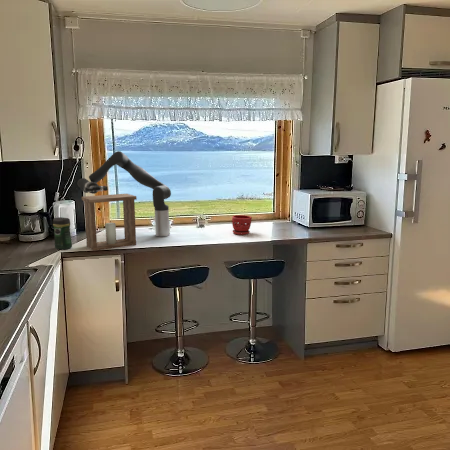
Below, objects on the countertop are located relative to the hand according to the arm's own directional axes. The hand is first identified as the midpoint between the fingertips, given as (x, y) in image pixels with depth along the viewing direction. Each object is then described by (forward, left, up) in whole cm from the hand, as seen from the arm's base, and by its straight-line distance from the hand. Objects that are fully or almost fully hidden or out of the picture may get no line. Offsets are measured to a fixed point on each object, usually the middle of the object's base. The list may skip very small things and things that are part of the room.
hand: (99, 189), depth 277 cm
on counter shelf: (+13, +19, -32) cm, 39 cm away
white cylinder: (+13, +19, -30) cm, 38 cm away
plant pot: (-53, +76, -32) cm, 98 cm away
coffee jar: (+31, -2, -32) cm, 45 cm away
